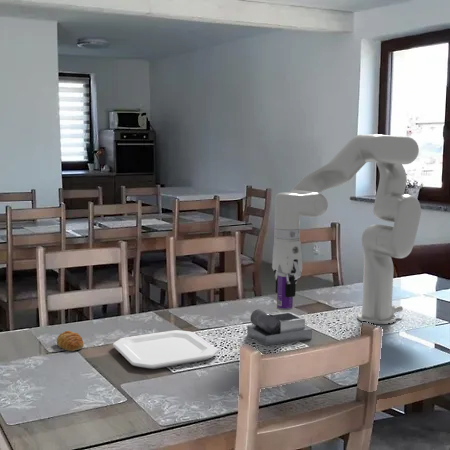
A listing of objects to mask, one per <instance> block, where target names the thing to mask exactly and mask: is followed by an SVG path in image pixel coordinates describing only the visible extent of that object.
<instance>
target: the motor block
mask: <svg viewBox="0 0 450 450" xmlns="http://www.w3.org/2000/svg"><path fill="white" fill-rule="evenodd" d="M250 323H251V324H250V325H247V326H246V329H247V330H246V331H247V332H246V335H247V336H248V338H249V337H250V338H251V339H253V340H255V342H258V343H259V344H261V345H263V346H264V347H268V346H275V345H276V346H277V345H282V344H286V343H294V342H299V341H306V340H311V339H313V329H312V327H310V326H307V325H306V318H305V317H302V316H300V315H298V314H296V313H294V312H291V311H285V312H279V313H278V312H277V313H269V312H266V311H264V310H262V309H256V310H255V309H254V311H252V313H251V314H250Z"/></svg>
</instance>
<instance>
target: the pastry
mask: <svg viewBox="0 0 450 450" xmlns="http://www.w3.org/2000/svg"><path fill="white" fill-rule="evenodd" d="M56 344H57V346H58V347H59V348H60V349H62V350H65V351H68V352H69V351H70V352H74V351H77V350H82V349H83V347H84V341H83V337H81V335H80V334H79V333H77V332H74V331H71V330H65V331H63V332H62V333H60V334H59V335H58V336H57V338H56Z"/></svg>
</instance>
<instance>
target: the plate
mask: <svg viewBox="0 0 450 450" xmlns="http://www.w3.org/2000/svg"><path fill="white" fill-rule="evenodd" d="M112 346H113V348H114V349H115V350H116V351H118V353H119V354H121V356H122V357H124V358H125V360H127V361H128V363H130V364H131V365H132V366H134V367H136V368H137V367H138V368H142V369H149V370H155V369H161V368H167V367H173V366H178V365H179V366H180V365H185V364H190V363H195V362H202V361H205V360H208V359H211V358H213V357H215V355H217V353H218V352H219V349H218V348H217V347H216V346H214V345H212V344H211V343H209V342H208V341H206V340H205V339H204V338H202V337H201V336H199V335H197V334H196V333H195V332H193V331H188V330H181V329H180V330H179V329H178V330H177V329H175V330H166V331H161V332H160V331H159V332H154V333H147V334H140V335H133V336H126V337H121V338H119V339H118V340H115V342H113V343H112Z"/></svg>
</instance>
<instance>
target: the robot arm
mask: <svg viewBox="0 0 450 450" xmlns="http://www.w3.org/2000/svg"><path fill="white" fill-rule="evenodd" d="M419 151H420V149H419V145H418V143H417V141H416V140H415V139H414V138H412V137H410V136H399V135H398V136H397V135H389V134H387V135H386V134H378V133H375V134H370V133H369V134H357V135H355V136H353V137H352V138H351V139H350V140H348V142H347V143H346V144H345V145H344V146H342V148H341V149H340V150H339V151H338V152H337V153H336V154H335V155H334V156H333V158H332V159H331V160H329V161H328V162H327V163H326V164H324V165H322V166H320V167H319V168H317V169H315V170H314V171H312V172H311V173H309V174H307V175H305V176H304V177H303V178H301V179H300V180H299V181H298V182H297V183H296V184H295V185H294V186H293V187H292V189H291V190H290V191H289V192H278V193H277V194H276V195H275V197H274V200H275V201H274V230H273V231H274V232H273V233H274V235H273V236H274V237H273V238H274V241H273V246H272V258H271V260H272V263H271V264H272V265H271V268H272V270H273V273H274V279H275V293H276V294H277V285H278V267H279V265H280V266H281V269H282V272H283V273H285V274H286V279H287V284H286V286H285V297H293V298H294V297H296V285H297V283H298V280H299V279H300V278H301V276H302V274H301V273H302V272H303V251H302V249H303V248H302V242H301V240H300V238H301V218H302V217H307V218H318V217H322V216H323V215H324V214H325V213H326V211H327V210H328V207H329V206H328V205H329V203H328V200H327V197H325V196H324V195H323V194H321V193H322V192H324V191H327V190H330V189H333V188H337V187H340V186H343V185H345V184H347V183H349V182H350V181H351V180H352V179H353V178H354V176H355V175H356V174H357V173H358V172H360V170H361V169H362V168H363V167H364V166H365V165H366V164H367V163H375V164H376V166H377V168H378V171H379V180H378V181H379V182H378V186H377V191H376V196H375V199H374V203H373V208H372V209H373V210H372V212H373V214H374V215H373V216H374V217H375V218H376V219H378V220H380V221H382V222H388V223H393V226H392V225H391V226H390V225H384V224H377V223H376V224H370V225H369V226H367V227H366V228H365V229H364V230H363V233H362V235H361V247H362V253H363V278H362V279H363V280H362V303H361V304H362V306H361V311H360V312H358V313H357V316H356V318H357V320H359V321H361V322H363V321H367V322H369V323H368V324H371V323H372V324H373V323H374V324H373V325H389V324H388V323H390V324H394V323H395V322H397V316H396V315H395V314H396V313H400V312H403V310H404V309H403V306H402V305H398V306H395V305H394V304H393V287H394V286H393V285H394V272H395V271H394V263H393V259H392V258H395V259H405V258H407V257H408V256H409V255H410V254H411V253H412V251H413V247H414V245H415V241H416V238H417V237H416V236H417V233H418V228H419V224H420V221H421V216H422V215H421V214H422V208H421V203H420V200H418V198H417V197H415V196H414V195H412V194H407V193H405V191H406V187H407V173H406V170H405V168H404V166H403V165H409V164H412V163H413V162H414V161H416V159H417V158H418V156H419ZM291 271H293V273H291ZM290 275H293V276H292V277H291V278H290ZM393 322H394V323H393ZM372 324H371V325H372Z"/></svg>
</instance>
